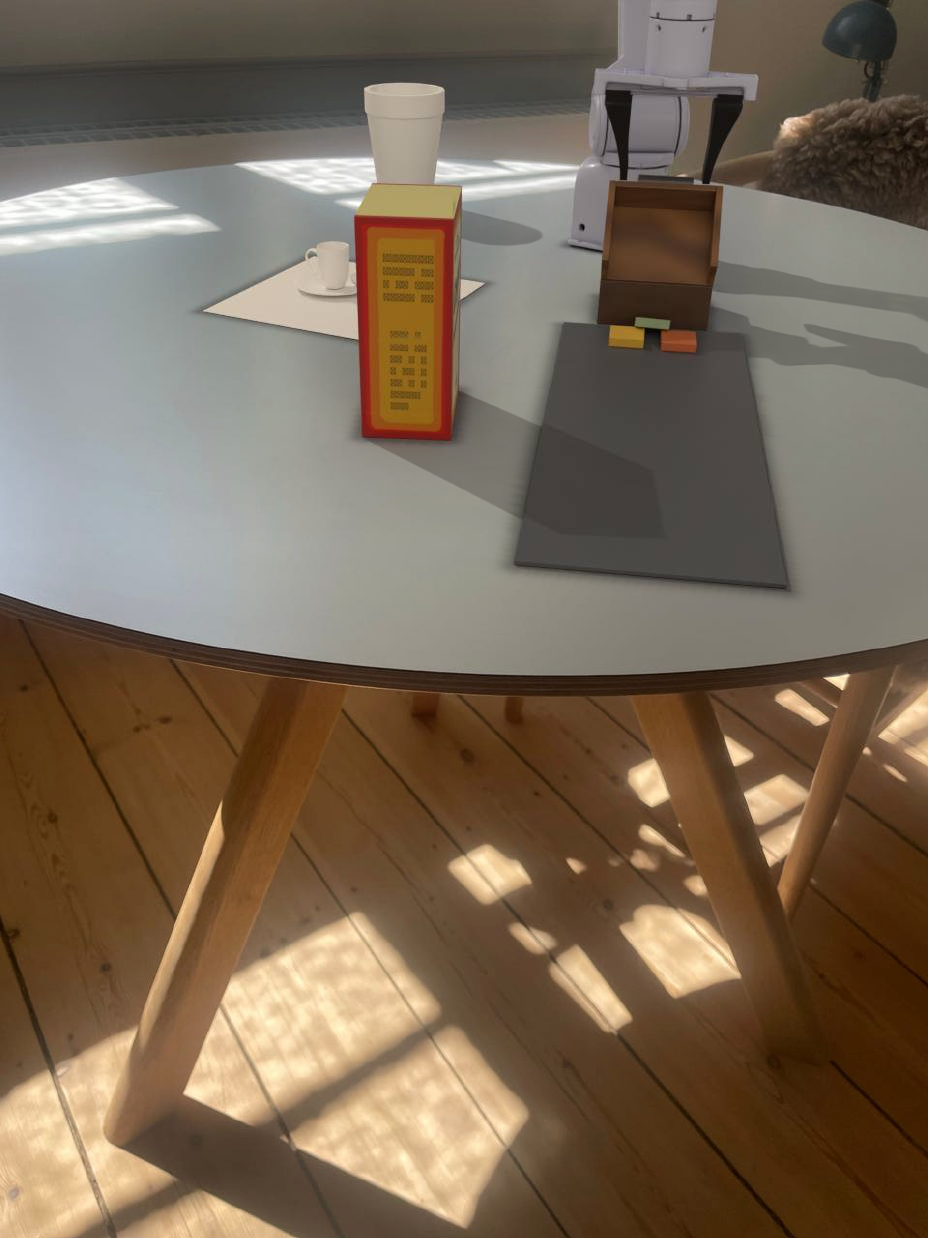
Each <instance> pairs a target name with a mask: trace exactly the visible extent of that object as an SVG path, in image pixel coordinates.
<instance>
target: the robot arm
mask: <svg viewBox="0 0 928 1238" xmlns="http://www.w3.org/2000/svg"><path fill="white" fill-rule="evenodd" d="M717 5H718V0H617V60H616V61H614V62H613V63H612V64H611V65H610V66H608V67H607V68H595V71H594V80H593V86H592V89H591V96H590V97H591V98H590V109H589V116H588V117H589V118H588V145H589V151H590V152H591V153H592V155H590V156H587V157H586V158H585V159H584V160H583V161H582V162H581V164H580V166H579V168H578V172H577V174H576V178H575V183H574V193H573V205H572V206H573V207H572V223H571V238H569V239H568V240H567V244H568V245H571V246H575V247H581V248H586V249H592V250H597V251H601V252H603V243H604V232H605V222H606V212H607V202H608V192H609V181H610V180H615V181H635V182H638V175H639V174H642V175H662V176H669V166H673V165H674V160H675V158H679V157H680V156H681V154H683V152H684V151H685V149H686V147H687V143H688V141H689V140H688V139H689V134H690V125H691V108H690V102H689V99H688V98H703V99H704V98H705V99H706V98H707V99H713V100H712V101H711V112H710V121H709V130H708V138H707V139H708V140H707V145H706V150H705V154H704V158H703V159H704V160H703V164H702V169H701V185H711V179H712V176H713V172H714V169H715V166H716V164H717V161H718V158H719V155H720V154H721V151H722V149H723V146H724V145H725V142H726V141H727V138H728V137H729V135H730V133H731V131H732V129H733V127H734V126H735V124H736V123H737V121H738V119H739V117H740V115H741V114H742V111H743V109H744V104H743V102H744V101H748V102H756V99H757V92H758V85H759V79H760V78H759V76H758V74H757V73H754V74H753V73H737V72H725V71H715V70H714V71H713V70H710V63H711V55H712V54H711V53H712V47H713V38H714V29H715V22H716V14H717V7H718V6H717ZM694 88H695V89H694Z"/></svg>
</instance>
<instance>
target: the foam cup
mask: <svg viewBox="0 0 928 1238" xmlns="http://www.w3.org/2000/svg"><path fill="white" fill-rule="evenodd" d="M445 91H446V90H445V89H444V87H442V86H438V85H435V84H428V83H427V84H426V83H419V82H387V83H378V84H372V85H368V86H365V87H364V88H363V95H364V112H365V114H366V115H367V116H366V117H367V122H368V124H367V125H368V129H369V136H370V137H369V138H370V144H371V150H372V157H373V163H374V171H375V177H376V178H375V179H376V183H387V184H419V185H435V180H436V173H437V166H438V165H437V164H438V156H439V148H440V140H441V139H440V138H441V131H442V123H443V115H444V113H445V110H446V109H445V105H446V102H445V101H446V100H445V99H446V98H445V95H446V94H445Z"/></svg>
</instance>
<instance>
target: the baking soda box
mask: <svg viewBox="0 0 928 1238" xmlns="http://www.w3.org/2000/svg"><path fill="white" fill-rule="evenodd" d="M462 215H463V185H451V184H450V185H449V184H448V185H447V184H446V185H445V184H434V185H419V184H387V183H377V182H372V183H371V184H370V186H369V188H368V190H367V191H366V194H365V196H364V198H363V199H362V201H361V203H360V205H359V207H358V209H357V210H356V212H355V214H354V216H353V224H354V225H353V227H354V229H353V231H354V254H355V257H354V259H355V263H356V286H357V313H358V362H359V363H358V365H359V366H358V367H359V389H360V390H359V392H360V394H359V395H360V419H361V420H360V421H361V437H362V438H381V439H382V438H383V439H405V440H406V439H408V440H431V441H452V436H453V432H454V431H453V430H454V425H455V418H456V417H455V416H456V412H457V405H458V400H459V393H460V356H461V355H460V353H461V352H460V350H461V348H460V347H461V345H460V343H461V341H460V340H461V300H460V292H461V279H462V221H463V220H462V218H463V217H462Z"/></svg>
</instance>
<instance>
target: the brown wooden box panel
mask: <svg viewBox="0 0 928 1238" xmlns="http://www.w3.org/2000/svg"><path fill="white" fill-rule="evenodd" d="M713 290H714V286H713V287H710V286H693V285H676V284H659V283H642V282H625V281H609V280H601V279H600V282H599V294H598V307H597V318H596V324H602V325H618V326H633V327H636V326H635V320H636V317H641V318H651V319H661V320H670V328H669V329H681V330H697V331H708V324H709V319H710V317H709V316H710V309H711V303H712V297H713V296H712V295H713Z"/></svg>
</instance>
